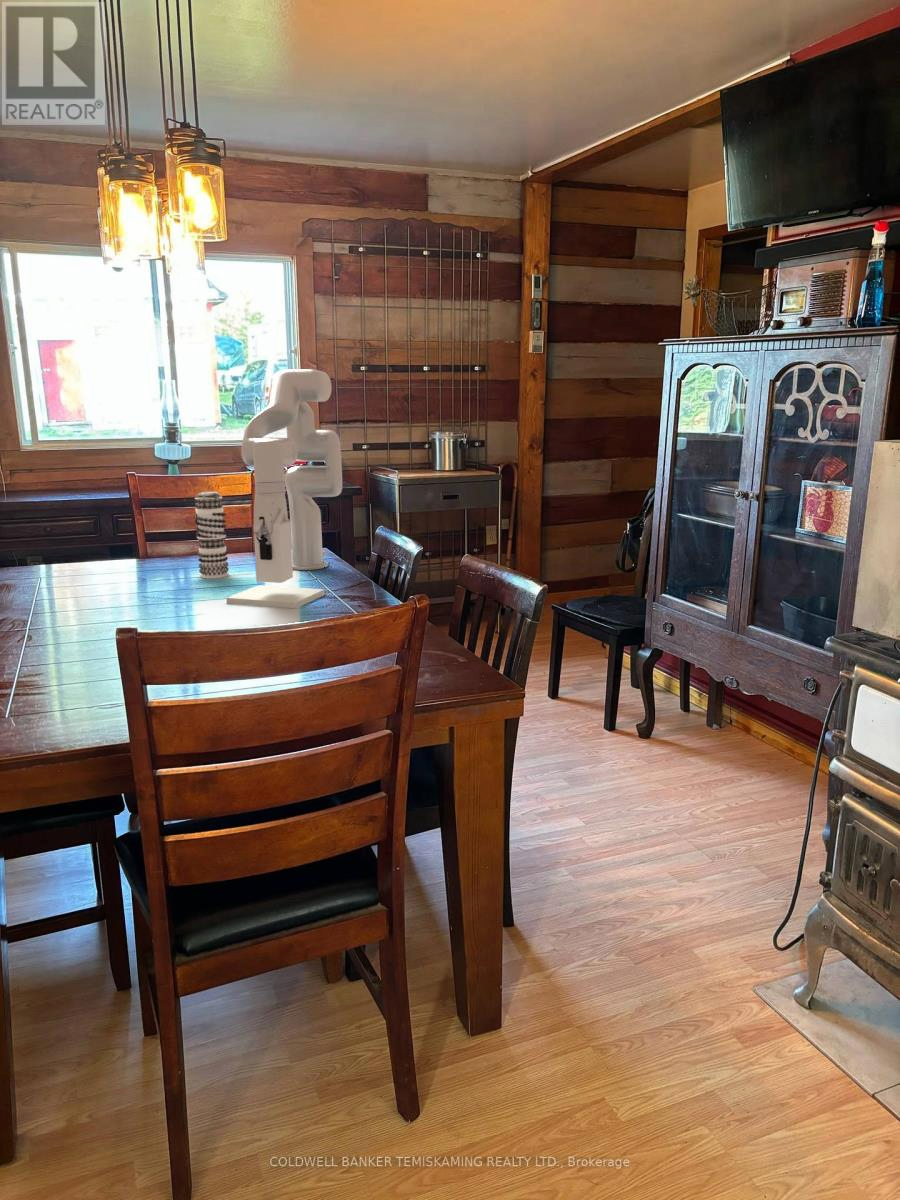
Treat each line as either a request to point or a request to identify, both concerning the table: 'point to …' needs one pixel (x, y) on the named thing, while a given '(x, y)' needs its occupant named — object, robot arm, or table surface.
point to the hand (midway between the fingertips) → (274, 556)
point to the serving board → (276, 596)
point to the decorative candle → (211, 535)
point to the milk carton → (276, 553)
